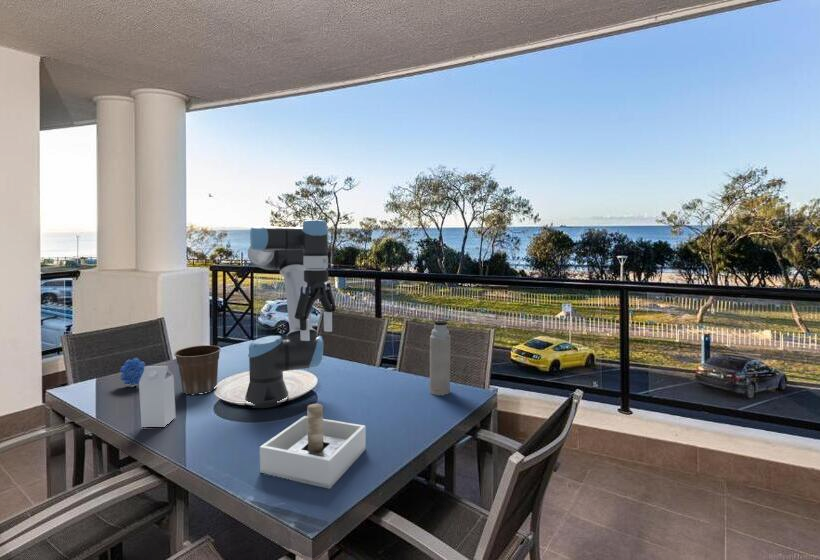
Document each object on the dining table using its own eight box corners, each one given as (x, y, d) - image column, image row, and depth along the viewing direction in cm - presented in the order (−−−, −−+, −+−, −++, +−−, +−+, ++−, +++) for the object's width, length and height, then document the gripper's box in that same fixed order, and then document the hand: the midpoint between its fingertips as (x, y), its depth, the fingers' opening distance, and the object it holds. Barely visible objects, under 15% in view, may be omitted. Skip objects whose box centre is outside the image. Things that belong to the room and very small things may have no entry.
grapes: (155, 384, 171) (153, 355, 170) (142, 389, 165) (140, 360, 164) (130, 382, 173) (128, 354, 172) (116, 388, 166) (114, 358, 165)
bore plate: (283, 464, 108) (283, 453, 108) (308, 443, 119) (308, 433, 119) (323, 472, 104) (323, 461, 104) (346, 450, 115) (346, 439, 115)
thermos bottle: (425, 392, 162) (426, 322, 160) (436, 386, 169) (436, 318, 166) (443, 397, 158) (444, 324, 155) (453, 391, 164) (454, 321, 162)
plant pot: (199, 400, 154) (197, 357, 153) (166, 395, 159) (164, 353, 158) (231, 385, 170) (229, 347, 168) (200, 381, 175) (198, 343, 173)
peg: (305, 459, 111) (304, 408, 109) (313, 452, 114) (312, 402, 113) (318, 461, 109) (317, 410, 108) (326, 454, 113) (325, 404, 112)
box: (260, 473, 106) (259, 446, 105) (304, 438, 124) (304, 415, 124) (329, 488, 99) (329, 460, 98) (365, 449, 118) (365, 425, 117)
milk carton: (153, 419, 137) (150, 363, 136) (175, 418, 138) (173, 362, 136) (141, 429, 130) (137, 370, 129) (165, 428, 131) (162, 369, 129)
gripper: (303, 272, 118) (305, 345, 120) (345, 267, 141) (346, 328, 143) (281, 271, 120) (283, 343, 122) (325, 266, 144) (326, 327, 146)
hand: (317, 335), depth 133 cm, fingers open, 13 cm apart
